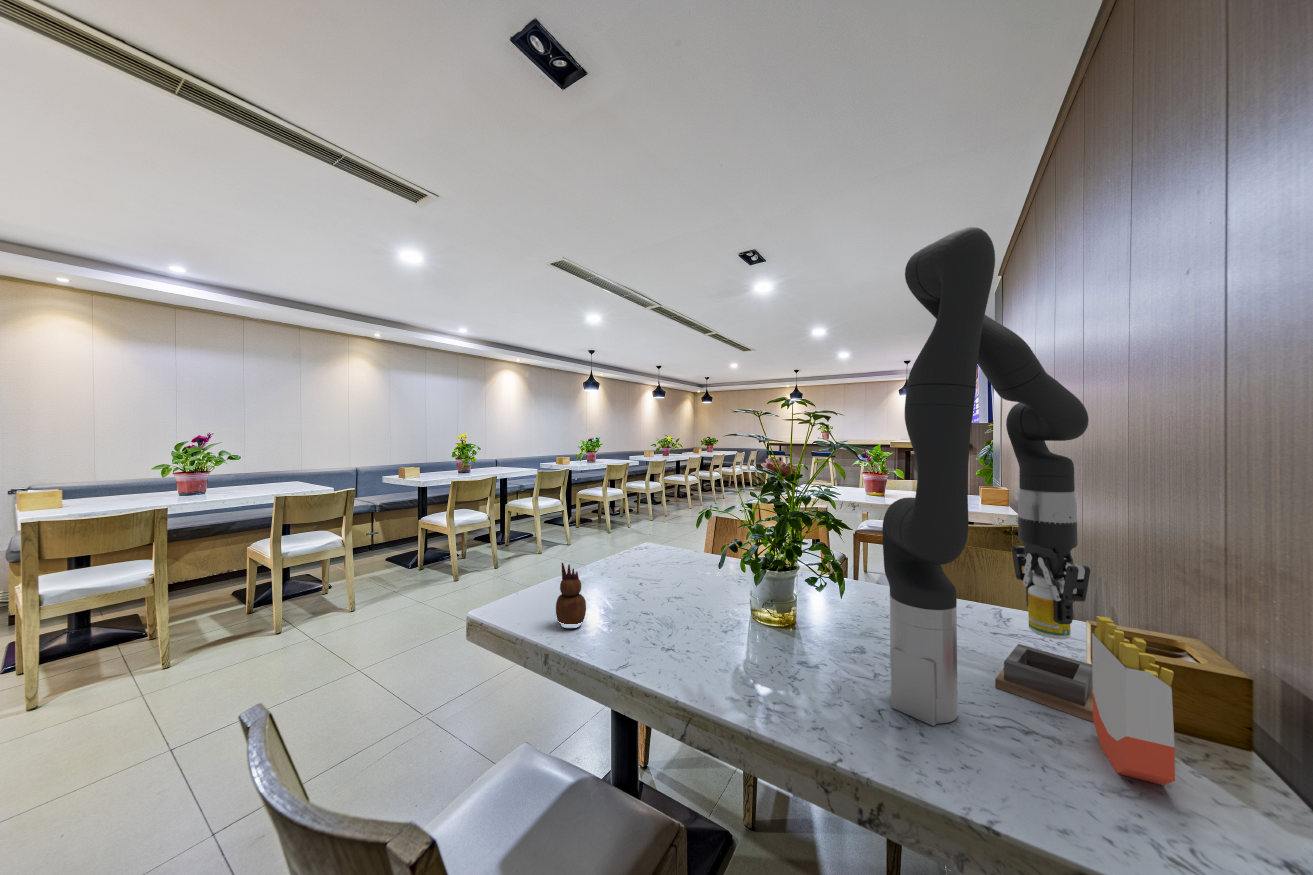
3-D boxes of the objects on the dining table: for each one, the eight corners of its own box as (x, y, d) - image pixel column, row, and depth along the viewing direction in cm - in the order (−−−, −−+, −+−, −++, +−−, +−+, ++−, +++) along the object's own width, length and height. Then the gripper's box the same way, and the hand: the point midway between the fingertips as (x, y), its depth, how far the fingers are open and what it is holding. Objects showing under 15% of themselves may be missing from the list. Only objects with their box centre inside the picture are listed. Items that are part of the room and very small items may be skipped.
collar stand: (1093, 721, 66) (1092, 692, 66) (995, 687, 75) (995, 661, 75) (1103, 691, 74) (1102, 665, 74) (1013, 663, 83) (1012, 640, 83)
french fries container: (1136, 745, 61) (1135, 616, 61) (1180, 802, 52) (1178, 650, 52) (1092, 734, 63) (1091, 610, 63) (1125, 787, 54) (1124, 641, 54)
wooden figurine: (551, 630, 100) (550, 564, 100) (564, 619, 106) (563, 557, 106) (578, 633, 98) (577, 566, 98) (589, 622, 104) (589, 559, 104)
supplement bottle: (1030, 623, 78) (1029, 569, 78) (1071, 632, 74) (1070, 576, 74) (1026, 633, 75) (1025, 576, 75) (1069, 643, 71) (1068, 584, 71)
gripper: (1110, 525, 67) (1111, 635, 67) (1038, 509, 81) (1039, 600, 81) (1056, 525, 68) (1058, 634, 68) (994, 509, 82) (996, 599, 82)
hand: (1048, 615), depth 75 cm, fingers closed on supplement bottle, 5 cm apart
